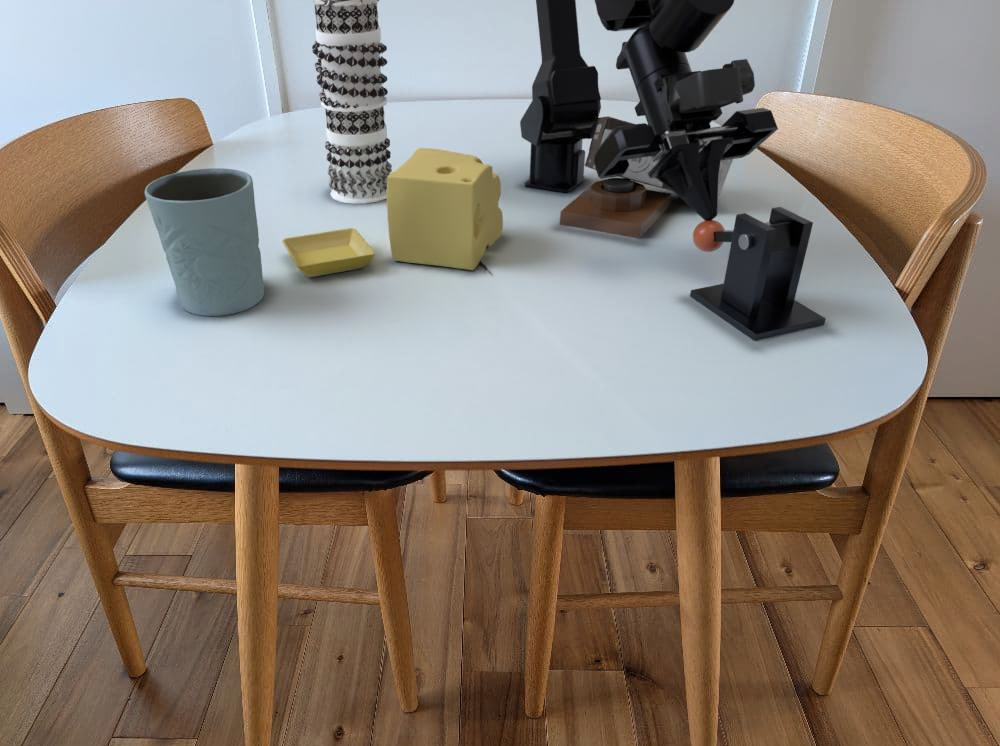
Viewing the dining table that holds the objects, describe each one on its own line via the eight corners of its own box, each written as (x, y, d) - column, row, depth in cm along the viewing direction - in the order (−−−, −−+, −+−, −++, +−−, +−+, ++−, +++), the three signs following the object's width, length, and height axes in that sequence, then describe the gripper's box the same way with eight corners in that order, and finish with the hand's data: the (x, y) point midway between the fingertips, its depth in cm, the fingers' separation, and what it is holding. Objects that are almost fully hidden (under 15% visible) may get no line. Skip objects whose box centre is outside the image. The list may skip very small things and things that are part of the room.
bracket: (688, 300, 81) (704, 206, 75) (754, 287, 83) (773, 195, 78) (753, 346, 73) (775, 244, 68) (823, 329, 75) (849, 230, 70)
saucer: (283, 255, 92) (280, 237, 91) (356, 243, 94) (354, 226, 93) (299, 285, 85) (297, 267, 84) (377, 271, 88) (376, 253, 87)
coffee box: (736, 150, 96) (607, 115, 95) (717, 204, 98) (591, 170, 97) (716, 148, 104) (597, 115, 103) (698, 197, 106) (582, 165, 105)
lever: (687, 253, 83) (685, 222, 82) (713, 248, 84) (711, 217, 83) (767, 257, 72) (766, 221, 71) (795, 252, 73) (794, 216, 72)
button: (598, 198, 98) (599, 184, 97) (608, 189, 100) (609, 175, 99) (627, 203, 96) (628, 188, 95) (636, 194, 99) (638, 180, 98)
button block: (559, 228, 97) (561, 196, 95) (594, 198, 106) (596, 168, 104) (639, 242, 93) (643, 209, 91) (668, 210, 102) (673, 179, 100)
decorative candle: (330, 207, 105) (307, -7, 91) (325, 184, 112) (303, -17, 98) (399, 201, 106) (387, -10, 92) (390, 179, 114) (377, -19, 100)
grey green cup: (219, 328, 77) (195, 208, 71) (149, 304, 82) (119, 189, 75) (291, 289, 84) (274, 176, 78) (222, 269, 89) (201, 160, 82)
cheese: (503, 238, 95) (504, 153, 89) (474, 275, 87) (474, 184, 81) (421, 228, 98) (417, 146, 92) (386, 263, 90) (379, 174, 84)
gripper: (619, 37, 73) (672, 193, 71) (785, 22, 79) (839, 166, 76) (572, 107, 84) (617, 245, 81) (722, 89, 89) (768, 218, 87)
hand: (711, 218), depth 81 cm, fingers closed, pressing on lever
